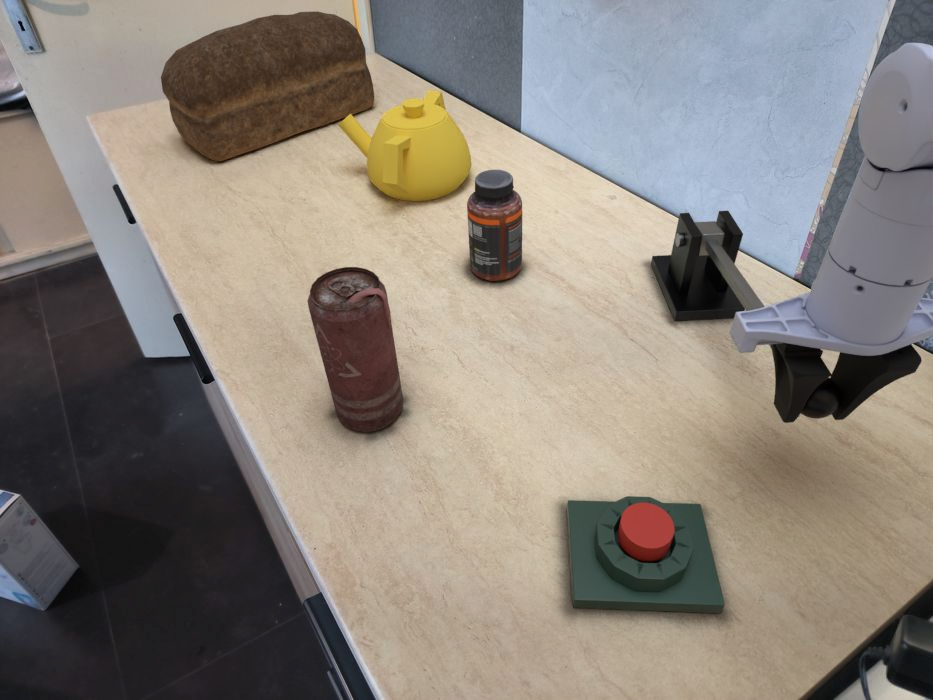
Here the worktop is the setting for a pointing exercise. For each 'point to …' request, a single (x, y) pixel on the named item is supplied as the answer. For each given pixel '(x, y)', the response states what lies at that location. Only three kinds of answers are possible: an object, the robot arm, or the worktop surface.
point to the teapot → (414, 149)
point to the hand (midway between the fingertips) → (808, 411)
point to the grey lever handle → (828, 391)
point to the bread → (266, 82)
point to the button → (645, 531)
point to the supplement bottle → (495, 226)
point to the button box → (641, 582)
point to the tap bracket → (698, 273)
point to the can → (357, 347)
